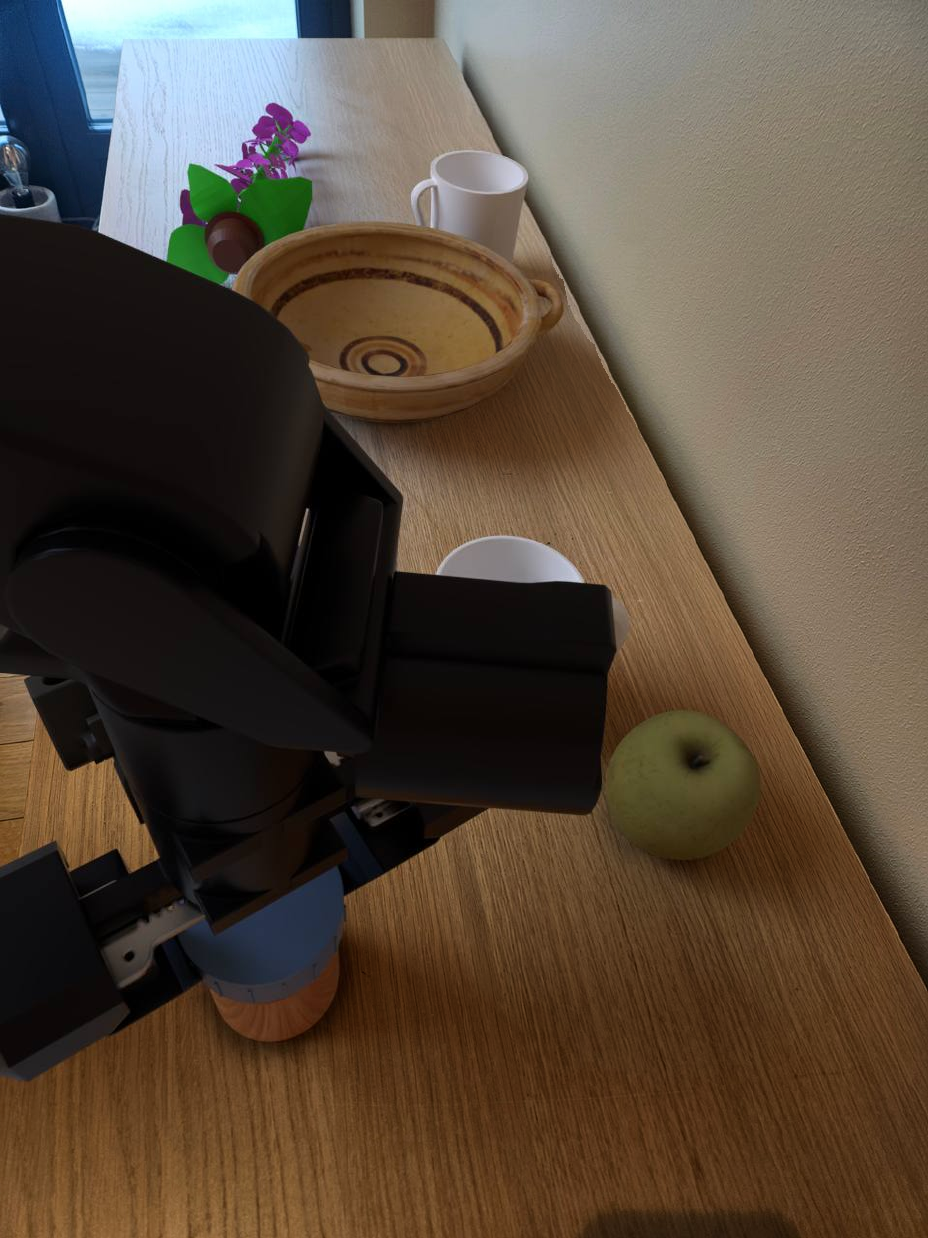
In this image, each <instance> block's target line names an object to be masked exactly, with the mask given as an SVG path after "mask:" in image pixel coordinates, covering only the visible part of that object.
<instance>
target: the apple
mask: <svg viewBox="0 0 928 1238" xmlns="http://www.w3.org/2000/svg"><path fill="white" fill-rule="evenodd" d="M761 785H762V780H761V771H760V768H759V766H758V762H757V759H756V758H755V756H754V754H753V753H752V751H751V749H750V748H749V746H748V745H747V744H746V742H745V741H744V740H743V738H741V737H740V735H739V734H737V733H736V732H735V731H734V730H733V729H732V728H731V727H729V726H728V725H727V724H725V723H724V722H723V721H721V720H720V719H718V718H716V717H714V716H712V715H710V714H708V713H705V712H702V711H697V710H690V709H679V710H678V709H675V710H669V711H665V712H661V713H658V714H655V715H653V716H651V717H649V718H647V719H645V720H643V721H642V722H640V723H639V724H637V725H636V726H634V728H632V729H631V730H629V732H628V733H627V734H626V735H625V736H624V737H623V738H622V740H620V742H619V743H618V744H617V747H616V748H615V750H614V752H613V754H612V756H611V758H610V761H609V764H608V767H607V770H606V776H605V785H604V787H605V788H604V789H605V799H606V802H607V807H608V810H609V814H610V816H611V818H612V820H613V822H614V824H615V825H616V827H617V829H618V830H619V832H620V833H621V834H622V835H623V836H624V838H625V839H626V840H627V841H629V842H630V843H631V844H632V845H633V846H634V847H635V848H637V849H639V850H640V851H642V852H644V853H647V854H649V855H651V856H653V857H657V858H661V859H668V860H677V861H691V860H698V859H702V858H705V857H706V858H707V857H709V856H712V855H713V854H716V853H718V852H720V851H722V850H724V849H725V848H727V847H728V846H730V845H731V844H732V843H733V842H734V841H736V839H738V838H739V837H740V836H741V835H742V834H743V832H744V831H745V830H746V828H747V827H748V826H749V824H750V822H751V820H752V819H753V817H754V815H755V813H756V811H757V808H758V805H759V802H760V801H759V800H760V797H761V791H762V790H761Z"/></svg>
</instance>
